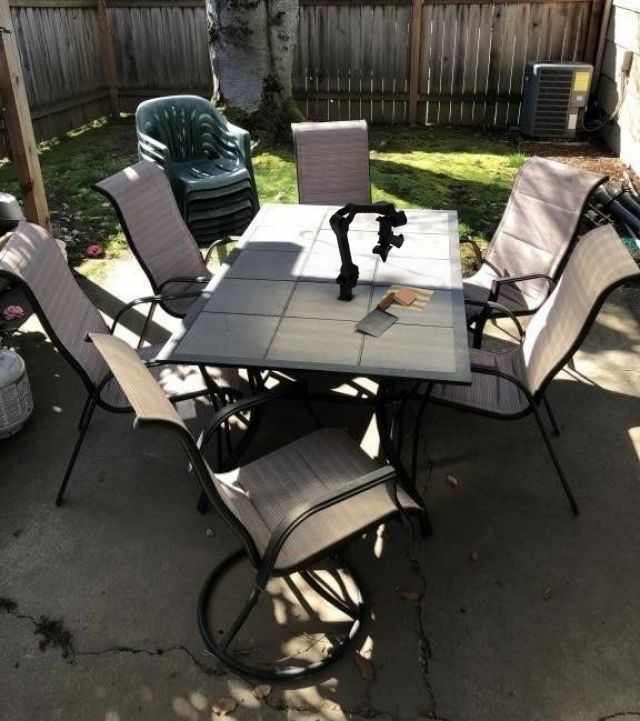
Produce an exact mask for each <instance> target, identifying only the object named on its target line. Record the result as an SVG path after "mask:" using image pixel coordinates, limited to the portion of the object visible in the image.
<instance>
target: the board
mask: <svg viewBox="0 0 640 721" xmlns="http://www.w3.org/2000/svg"><path fill="white" fill-rule="evenodd" d="M402 287H405V288H407V289H408V290H410V291H411V292H413V293H414V294H416V295H417V297H416V299H415V300H414V301H413V302H412V303H411V304H410V305H409V306H408V307H406V306H404V305H403V304H401V303H400V302H398V301H397V300H396V299H395V300H393V302H392V303H391V304H389V305H388V306H387V307H392V308H393V307H394V308H399V309H406V310H411V311H412V310H413V311H418V312H422V311H423V310H424V309H425V307H426V305H427V304H428V302H429V300H430V299H431V297H432V296H433V295H434V292H435V290H431V289H425V288H419V287H411V286H405V285H398V284H392V285H391V286H390V287H389V288H388V290H387V291H386V293H385V294H384V295H383V296H382V298H381V299H380V300H379V302H378V303H380V302H381V301H382V300H383V299H384V298H385V297H387V296H388V295H389V294H390V293H391V292H395V293H397V292H398V291H399V290H400V289H401V288H402Z"/></svg>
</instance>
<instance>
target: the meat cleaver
mask: <svg viewBox="0 0 640 721" xmlns="http://www.w3.org/2000/svg"><path fill="white" fill-rule="evenodd" d="M395 294H396V293H395V292H391V293H390V294H389V295H388V296H387V297H385V298H384V299H383V300H382V301H381V302H380V303H379V302H378V303H377V304H376V306H375V308H373V309H372V311H370V312H369V313H368V314H366V316H364V317H363V318H361V320H359V321H358V322H357V323H356V324H355V325H354V329H357V330H360V331H362V332H364V333H367V334H368V335H372V336H373V337H374V338H375V337H376V338H379V337H380V336H381V335H382V334H384V333H385V332H386V330H387V329H388V328H389V327H391V325H393V324H394V323H395V322H396V321H397V320H398V319H399V317H398V316H396V315H395V314H392V313H390V312H388V311H386V310H385V309H386V308H388V307H389V306H388V305H389V304H391V303H392V302H393V300H395V299H394V298H393V296H394V295H395Z"/></svg>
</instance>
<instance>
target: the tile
mask: <svg viewBox="0 0 640 721" xmlns="http://www.w3.org/2000/svg"><path fill="white" fill-rule="evenodd" d="M405 287H406V286H405ZM405 287H402V288H401V289H400V290H399V291H398V292H397V293H396V294H395V295H394V296H393V298H394V299H396V300H397V301H398V302H400V303H401V304H403V305H404V306H406V307H408V306H409V305H410V304H411V303H412V302H413V301H414V300H415V299H416V297H417V295H416V294H414V293H413V292H411V291H410V290H408V289H407V288H405Z"/></svg>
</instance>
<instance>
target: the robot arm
mask: <svg viewBox="0 0 640 721" xmlns="http://www.w3.org/2000/svg"><path fill="white" fill-rule="evenodd" d="M357 214H378V216H377V217H376V218H375V221H376V222H378V224H379V225H378V232H377V236H378V241H377V244H376V245H375V246H373V247H372V249H371V252H372V253H371V254H374V255H379V258H381V260H382V263H386V262H387V259H388V256H389V253H390V251H391V250H392V249H393V247H396V248H397V249H401V247H402V246H403V244H404V242H405V237H404V236H405V235H404V234H403V233H400V234H396V235H395V233H394V230H393V228H395V229H396V228H399V227H403V226H406V225H407V224H408V217H407V215H406V213H405V210H403V209H401V210H398V211H397V210H396V207H395V204H393V203H391V202H389V201H386V200H379V201H375V202H374V203H372V202H371V203H370V202H366V203H365V202H352V201H351V202H348V203H347V204H346V205H345V206H343V207H341V208H340V209H338V210H336V212H334V214H332V215H331V216H330V218H329V219H328V220H329V221H328V223H329V226H330V229H331V230H332V232H333V233H334V234H335V237H336V243H337V248H338V252H339V256H340V262H341V265H340V268H339V274H338V276H337V277H336V278H335V283H336V284H337V285H339V295H338V297H337V298H336V300H337V301H345V302H351V301H352V300H353V299H354V298H355V297H356V295H355V294H353V289H354V288H356V287H357V284H358V281H359V279H360V274H361V272H360V271H359V270H360V269H359V265H357V264H355V263H353V258H352V252H351V246H350V242H349V237H348V233H349V231H350V225H351V224H352V222H353V221H354V220H355V216H356V215H357ZM346 215H347V216H346ZM345 216H346V217H345Z"/></svg>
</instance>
